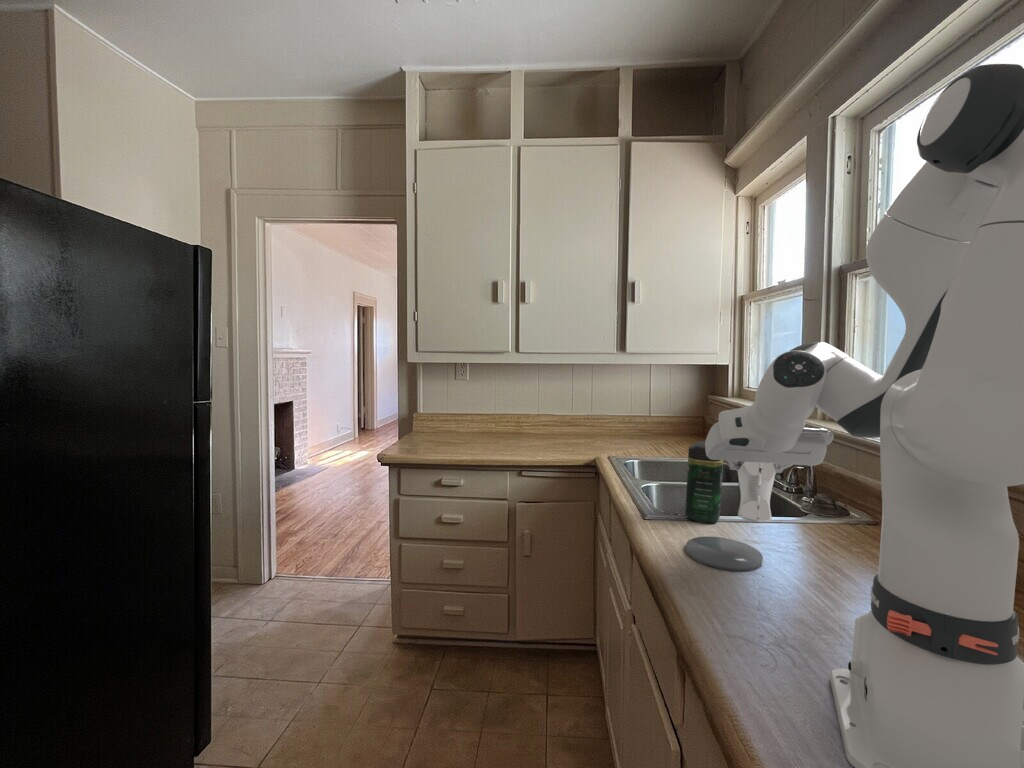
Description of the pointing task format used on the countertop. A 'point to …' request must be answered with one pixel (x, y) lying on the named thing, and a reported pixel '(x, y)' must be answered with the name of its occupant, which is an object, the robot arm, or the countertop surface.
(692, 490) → the coffee jar
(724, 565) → the coaster
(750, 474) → the beer glass
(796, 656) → the countertop surface
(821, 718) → the countertop surface
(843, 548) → the countertop surface
